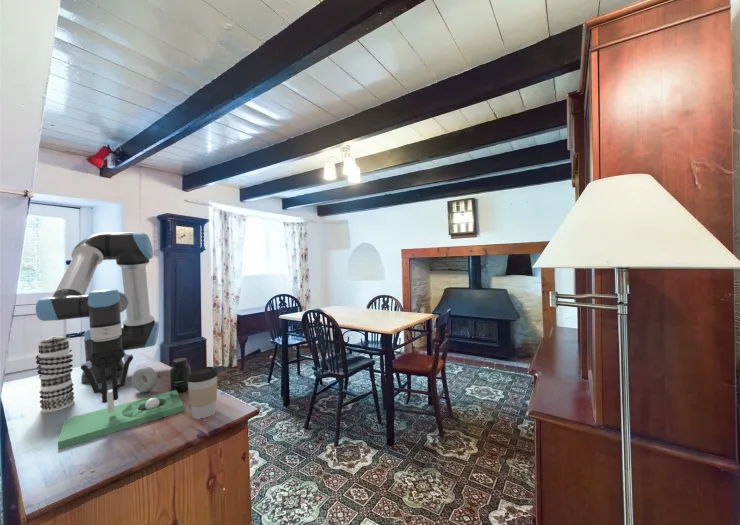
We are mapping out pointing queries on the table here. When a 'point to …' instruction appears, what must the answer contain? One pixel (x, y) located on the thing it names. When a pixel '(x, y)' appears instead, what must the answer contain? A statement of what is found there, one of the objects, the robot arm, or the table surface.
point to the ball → (152, 403)
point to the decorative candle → (55, 373)
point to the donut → (138, 381)
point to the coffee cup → (202, 391)
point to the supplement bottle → (179, 375)
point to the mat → (117, 418)
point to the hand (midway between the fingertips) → (111, 410)
